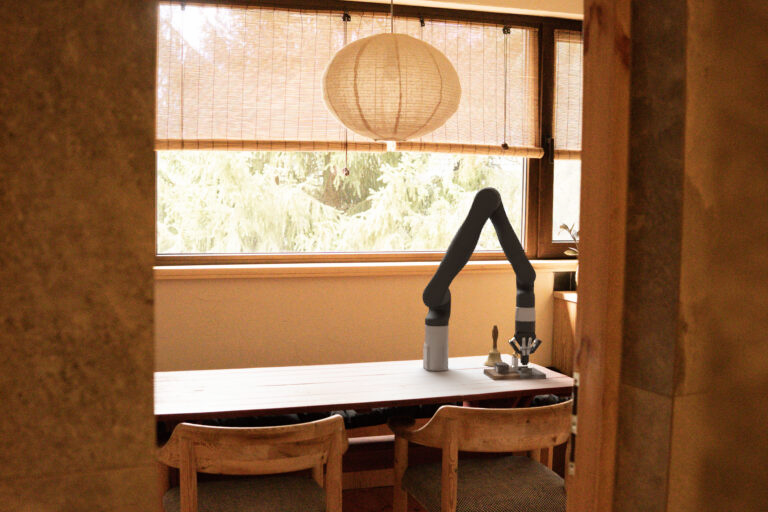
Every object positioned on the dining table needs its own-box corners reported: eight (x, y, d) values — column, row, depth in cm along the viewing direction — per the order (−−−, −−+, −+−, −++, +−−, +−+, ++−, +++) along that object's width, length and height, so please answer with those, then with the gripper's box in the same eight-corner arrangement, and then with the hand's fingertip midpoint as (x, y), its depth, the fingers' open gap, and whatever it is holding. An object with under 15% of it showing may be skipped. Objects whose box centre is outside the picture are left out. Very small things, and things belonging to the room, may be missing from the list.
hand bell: (508, 364, 284) (508, 325, 283) (499, 367, 277) (500, 327, 276) (488, 362, 289) (489, 323, 288) (480, 365, 282) (481, 325, 281)
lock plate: (494, 380, 256) (494, 367, 256) (483, 373, 268) (483, 360, 267) (546, 378, 259) (546, 365, 259) (533, 371, 271) (533, 359, 271)
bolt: (497, 372, 261) (497, 353, 261) (495, 371, 263) (495, 352, 263) (518, 371, 262) (518, 352, 262) (516, 370, 265) (516, 351, 264)
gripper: (511, 320, 258) (511, 367, 259) (546, 320, 261) (545, 366, 262) (504, 317, 266) (504, 363, 267) (538, 317, 268) (537, 362, 269)
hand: (524, 364), depth 264 cm, fingers closed
